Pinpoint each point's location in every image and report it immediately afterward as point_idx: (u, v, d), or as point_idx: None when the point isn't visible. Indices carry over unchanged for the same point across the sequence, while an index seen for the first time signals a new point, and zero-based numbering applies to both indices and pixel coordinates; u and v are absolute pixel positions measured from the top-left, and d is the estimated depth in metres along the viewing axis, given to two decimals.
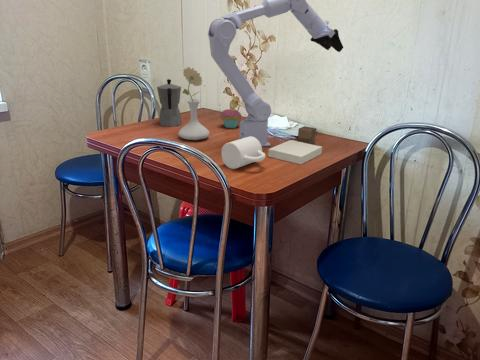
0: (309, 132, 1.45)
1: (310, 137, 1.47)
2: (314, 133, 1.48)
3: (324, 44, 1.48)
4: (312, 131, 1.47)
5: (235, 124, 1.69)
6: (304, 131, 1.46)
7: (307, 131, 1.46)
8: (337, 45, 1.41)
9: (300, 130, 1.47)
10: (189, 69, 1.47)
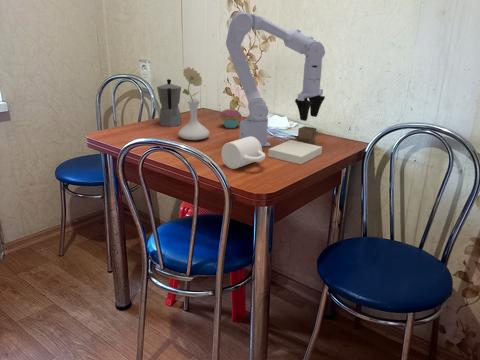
0: (309, 132, 1.45)
1: (310, 137, 1.47)
2: (314, 133, 1.48)
3: (312, 109, 1.49)
4: (312, 131, 1.47)
5: (235, 124, 1.69)
6: (304, 131, 1.46)
7: (307, 131, 1.46)
8: (302, 113, 1.43)
9: (300, 130, 1.47)
10: (189, 69, 1.47)
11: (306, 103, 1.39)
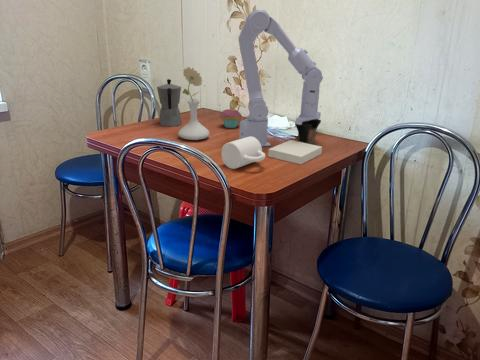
0: (309, 132, 1.45)
1: (310, 137, 1.47)
2: (314, 133, 1.48)
3: None
4: (312, 131, 1.46)
5: (235, 124, 1.69)
6: None
7: None
8: (302, 136, 1.47)
9: None
10: (189, 69, 1.47)
11: (305, 126, 1.43)
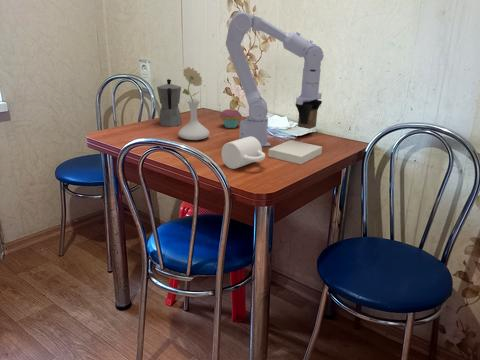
0: (310, 113, 1.42)
1: (311, 118, 1.43)
2: (315, 114, 1.45)
3: None
4: (313, 112, 1.43)
5: (235, 124, 1.69)
6: None
7: None
8: (303, 117, 1.43)
9: None
10: (189, 69, 1.47)
11: (306, 106, 1.39)
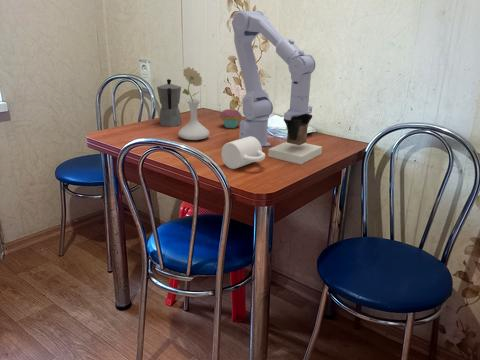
0: (299, 128, 1.32)
1: (301, 134, 1.33)
2: (305, 129, 1.35)
3: None
4: (303, 127, 1.33)
5: (235, 124, 1.69)
6: None
7: None
8: (291, 132, 1.33)
9: None
10: (189, 69, 1.47)
11: (295, 122, 1.30)
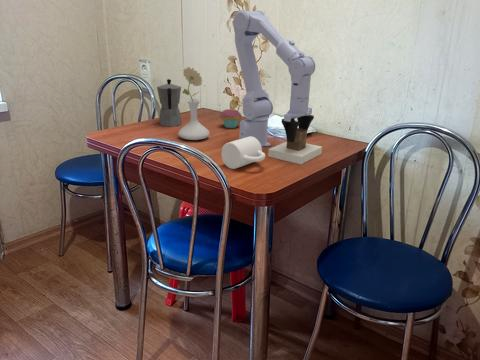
0: (299, 134, 1.33)
1: (300, 140, 1.34)
2: (305, 135, 1.36)
3: None
4: (302, 133, 1.34)
5: (235, 124, 1.69)
6: None
7: (297, 133, 1.33)
8: (289, 134, 1.33)
9: None
10: (189, 69, 1.47)
11: (293, 124, 1.29)
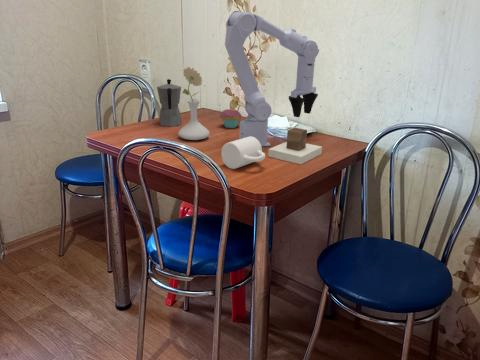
0: (299, 134, 1.33)
1: (300, 140, 1.34)
2: (305, 135, 1.36)
3: (305, 106, 1.54)
4: (302, 133, 1.34)
5: (235, 124, 1.69)
6: (294, 133, 1.34)
7: (297, 133, 1.33)
8: (296, 110, 1.48)
9: (289, 132, 1.35)
10: (189, 69, 1.47)
11: (299, 100, 1.44)
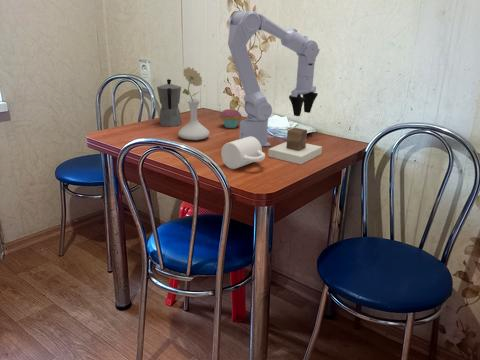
0: (299, 134, 1.33)
1: (300, 140, 1.34)
2: (305, 135, 1.36)
3: (305, 105, 1.55)
4: (302, 133, 1.34)
5: (235, 124, 1.69)
6: (294, 133, 1.34)
7: (297, 133, 1.33)
8: (296, 109, 1.49)
9: (289, 132, 1.35)
10: (189, 69, 1.47)
11: (299, 99, 1.45)
